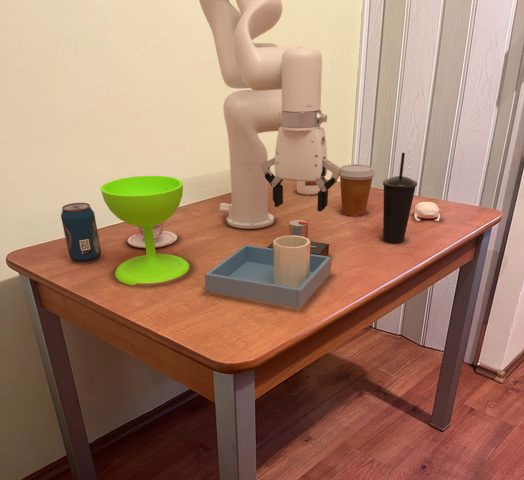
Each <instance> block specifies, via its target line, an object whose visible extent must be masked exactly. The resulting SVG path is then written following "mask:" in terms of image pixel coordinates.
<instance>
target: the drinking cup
mask: <svg viewBox="0 0 524 480" xmlns="http://www.w3.org/2000/svg"><path fill="white" fill-rule="evenodd" d="M405 156H406V154H405V152H402V153H401V157H400V165H399V175H396V176H395V175H394V176H392V177H389V178H387V179H384V180H383V181H382V185H383V208H382V209H383V210H382V211H383V213H382V214H383V215H382V216H383V217H382V218H383V220H382V222H383V223H382V240H383V242H385V243H388V244H401V243H403V242H404V240H405V236H406V233H407V227H408V224H409V223H408V222H409V218H410V214H411V209H412V206H413V205H412V204H413V200H414V196H415V191H416V187H417V186H418V182H417V181H416V180H414V179H412V178H410V177H408V176H404V175H403V173H404V166H405V165H404V164H405Z"/></svg>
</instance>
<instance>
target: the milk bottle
mask: <svg viewBox="0 0 524 480" xmlns="http://www.w3.org/2000/svg"><path fill="white" fill-rule="evenodd" d="M319 191H320V188H319V187H318V186H317V184H316V183H315V182H308V181H296V192H297V193H298V194H301V195H306V196H307V195H308V196H310V195H311V196H312V195H318V192H319Z"/></svg>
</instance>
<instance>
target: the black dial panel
mask: <svg viewBox="0 0 524 480" xmlns="http://www.w3.org/2000/svg"><path fill="white" fill-rule="evenodd" d="M309 241H310V254H314V255H321V256H329V254H330V253H329V252H330V243H326V242H320V241H311V240H309ZM266 248H272V249H273V242H271V243H270V244H268V245H267V246H266Z"/></svg>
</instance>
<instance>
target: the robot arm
mask: <svg viewBox="0 0 524 480" xmlns="http://www.w3.org/2000/svg"><path fill="white" fill-rule="evenodd" d="M235 3H236V5H237V7H238V9H237V8H236V7H235V6H234V5H233V4H232V3H231V2H230V0H199V4H200V7H201V10H202V12H203V15H204V16H205V19H206V21H207V23H208V25H209V28H210V30H211V33H212V36H213V42H214V47H215V51H216V55H217V60H218V65H219V71H220V73H221V77H222V80H223V82H224V84H225V85H226V86H227V87H229V88H231V89H239V90H237V91H234V92H231V93H230V94H228V95H227V97H225V99H224V102H223V108H222V110H223V111H222V112H223V117H224V122H225V123H224V124H225V127H226V131H227V134H226V135H227V140H228V141H227V142H228V154H229V155H228V156H229V172H230V173H229V174H230V176H229V177H230V194H231V203H227V202H220V204H219V212H220V213H226V214H228V216H227V217H226V224H227V225H228V226H230V227H232V228H235V229H241V230H242V229H243V230H256V229H262V228H267V227H270V226H272V225H273V224H274V223H275V216H274V215H273V214H271V213H270V212H269V185H270V187H271V188H272V202H273V203H274V204H273V205H274V207H275V208H279V207H280V206H281V205H283V204H284V185H282V183H283V181H285V180H286V181H295V182H297V181H308V182H315V183H316V184H317V186H318V187H319V188H320V191H319V192H318V194H317V208H316V210H317V212H322V211H324V210H325V209H326V207H327V206H328V203H329V202H328V201H329V190H330V189H331V187H333V186H334V185H335V184H336V183H337V182H338V179H340V174H341V172H342V169H341V167H339V166H338V165H336V164H335V163H333V162H332V161H330V160H328V149H327V137H326V131H325V127H324V126H321V125H322V123H327V122H328V115H327V114H323V113H322V110H321V105H322V104H321V103H322V70H323V55H322V53H321V51H320V50H319V49H317V48H315V47H303V46H295V45H294V46H279V45H277V44H275V43H271V42H261V43H260V42H259V43H258V42H257V43H256V42H253V40H255V39H256V38H259V37H260V36H261V35H263V34H265V33H267V32H268V31H270V30H272V29H273V28H274V27H275V26H276V25H277V24H278V22H279V21H280V19H281V17H282V15H283V14H282V13H283V3H282V0H235ZM241 89H242V90H241ZM269 132H271V133H272V132H277V137H276V142H275V154H274V157H273V158H270V159H269V155H268V149H267V147H266V145H265V144H264V143H263V142H262V140H261V138H260V137H259V135H258V134H262V133H269ZM268 159H269V160H268ZM273 166H274V173H273V172H272V170H271V167H273ZM328 171H329V172H331V177H330V178H329V179H327V178H326V176H327V173H328Z"/></svg>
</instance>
